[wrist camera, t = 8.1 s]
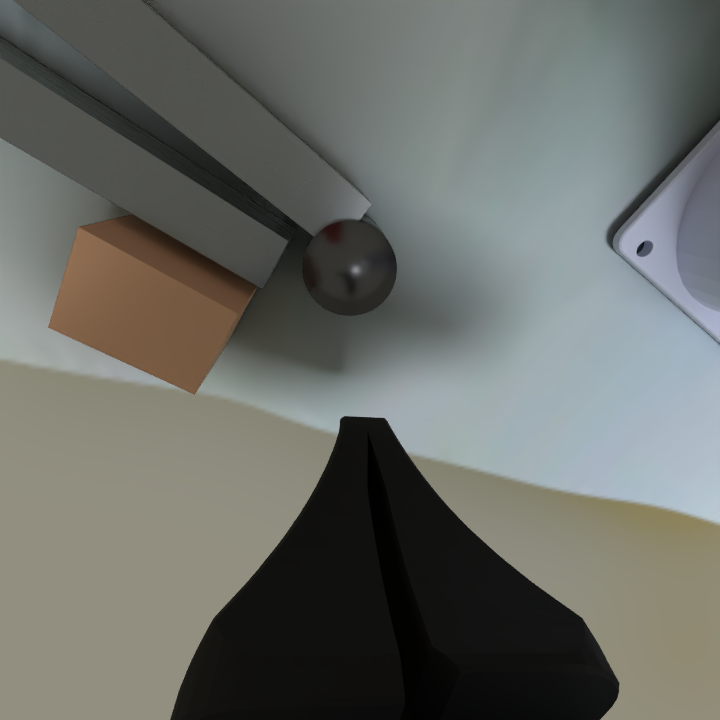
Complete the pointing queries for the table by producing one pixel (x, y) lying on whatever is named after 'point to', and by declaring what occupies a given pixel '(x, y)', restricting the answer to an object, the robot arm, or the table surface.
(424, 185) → the table surface
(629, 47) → the table surface
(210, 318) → the block
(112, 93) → the table surface
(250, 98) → the tongs arm
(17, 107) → the tongs handle
